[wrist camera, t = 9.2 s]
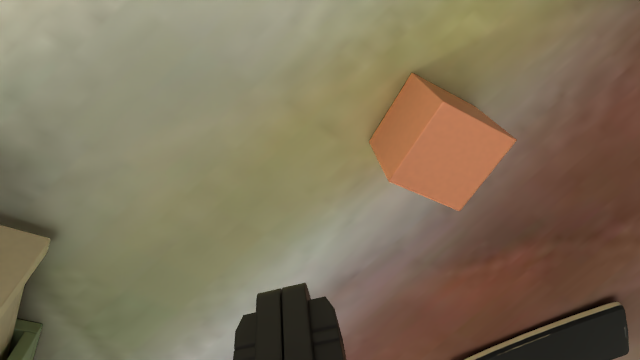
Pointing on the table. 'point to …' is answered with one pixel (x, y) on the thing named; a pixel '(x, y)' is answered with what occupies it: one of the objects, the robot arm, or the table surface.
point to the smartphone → (569, 338)
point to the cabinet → (24, 340)
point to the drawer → (16, 276)
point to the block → (438, 143)
